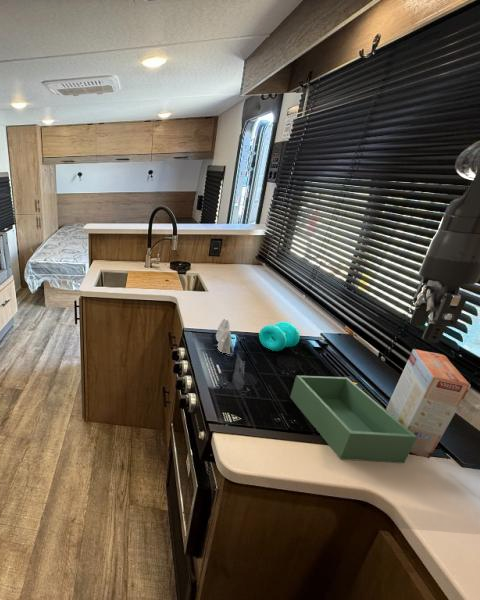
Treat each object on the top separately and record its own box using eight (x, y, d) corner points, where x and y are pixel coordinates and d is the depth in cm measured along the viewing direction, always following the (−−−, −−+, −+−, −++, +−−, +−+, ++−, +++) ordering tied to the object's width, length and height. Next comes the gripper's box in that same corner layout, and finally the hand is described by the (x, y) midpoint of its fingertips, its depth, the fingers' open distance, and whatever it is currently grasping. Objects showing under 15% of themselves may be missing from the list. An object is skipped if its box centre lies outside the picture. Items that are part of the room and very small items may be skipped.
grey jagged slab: (214, 338, 124) (218, 314, 120) (225, 340, 123) (230, 315, 118) (217, 354, 113) (222, 327, 109) (230, 355, 112) (235, 328, 108)
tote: (339, 399, 89) (347, 377, 87) (404, 463, 69) (417, 437, 67) (289, 397, 91) (296, 375, 88) (340, 459, 71) (350, 433, 68)
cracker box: (431, 460, 70) (473, 385, 62) (395, 449, 73) (431, 376, 65) (413, 422, 81) (447, 354, 73) (382, 413, 84) (411, 347, 76)
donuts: (297, 351, 114) (304, 327, 111) (279, 357, 111) (285, 332, 107) (273, 339, 123) (278, 316, 119) (255, 344, 119) (260, 321, 116)
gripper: (508, 266, 49) (464, 353, 55) (469, 249, 60) (436, 323, 66) (440, 261, 53) (406, 343, 59) (416, 246, 64) (389, 316, 70)
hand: (422, 332), depth 63 cm, fingers open, 8 cm apart
